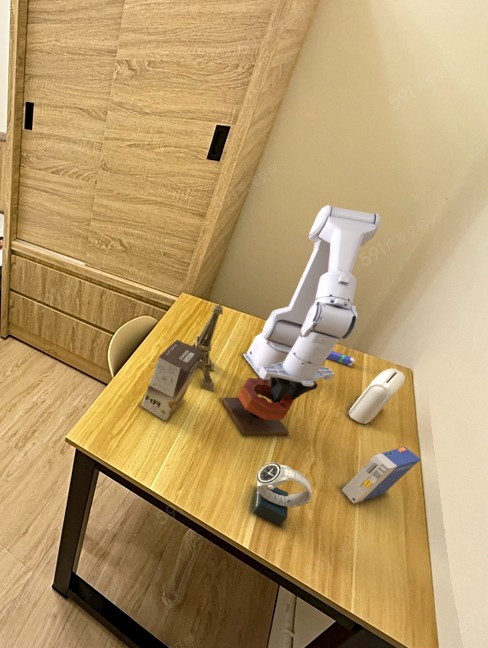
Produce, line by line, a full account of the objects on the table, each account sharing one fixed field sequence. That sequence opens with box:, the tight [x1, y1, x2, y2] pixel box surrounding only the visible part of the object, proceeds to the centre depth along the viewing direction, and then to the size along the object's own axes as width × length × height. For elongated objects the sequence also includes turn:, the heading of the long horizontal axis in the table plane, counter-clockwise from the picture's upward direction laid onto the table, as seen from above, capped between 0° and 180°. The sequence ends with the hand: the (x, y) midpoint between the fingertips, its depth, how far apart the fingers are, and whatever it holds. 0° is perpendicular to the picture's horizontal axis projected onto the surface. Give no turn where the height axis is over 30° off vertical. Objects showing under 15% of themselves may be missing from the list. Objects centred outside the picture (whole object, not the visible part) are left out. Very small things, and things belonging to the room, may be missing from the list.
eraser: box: [326, 350, 356, 367], centre depth 110 cm, size 2×6×2 cm, turn 54°
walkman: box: [341, 446, 421, 504], centre depth 76 cm, size 8×3×12 cm, turn 105°
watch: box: [252, 461, 313, 527], centre depth 73 cm, size 6×8×11 cm
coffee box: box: [140, 339, 203, 421], centre depth 92 cm, size 9×6×16 cm
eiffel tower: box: [190, 293, 226, 392], centre depth 99 cm, size 11×11×25 cm
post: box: [221, 396, 290, 437], centre depth 92 cm, size 10×10×6 cm
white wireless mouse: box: [347, 367, 406, 425], centre depth 93 cm, size 10×4×12 cm, turn 123°
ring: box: [237, 377, 295, 421], centre depth 90 cm, size 9×9×3 cm
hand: (279, 399), depth 91 cm, fingers closed on ring, 2 cm apart
